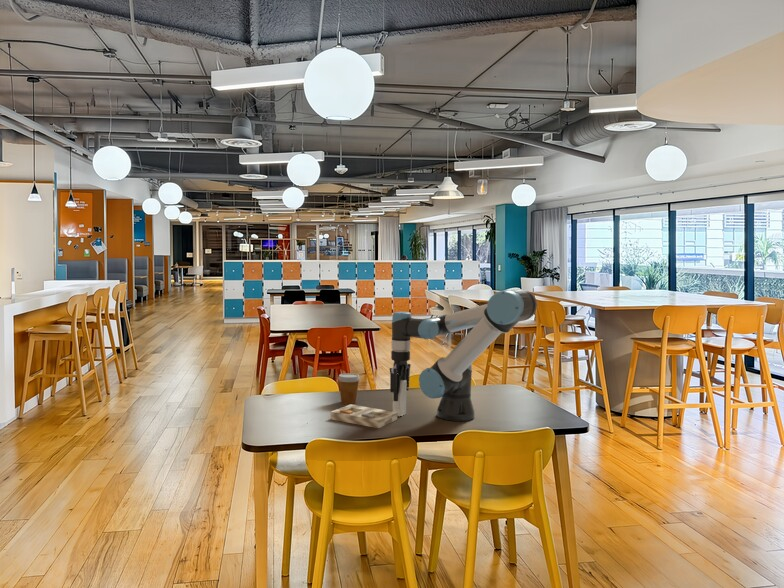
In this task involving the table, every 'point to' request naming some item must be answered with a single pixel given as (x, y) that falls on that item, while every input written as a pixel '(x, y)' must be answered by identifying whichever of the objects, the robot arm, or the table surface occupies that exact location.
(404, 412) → the plug
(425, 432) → the table surface
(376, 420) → the socket plate
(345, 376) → the disposable coffee cup
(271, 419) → the table surface
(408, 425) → the table surface
